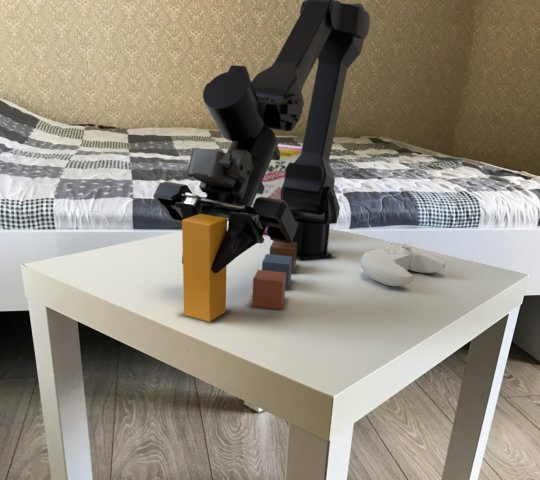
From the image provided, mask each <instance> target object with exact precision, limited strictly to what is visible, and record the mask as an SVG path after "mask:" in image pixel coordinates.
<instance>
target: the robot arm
mask: <svg viewBox="0 0 540 480" xmlns="http://www.w3.org/2000/svg"><path fill="white" fill-rule="evenodd" d="M370 21H371V18H370V14H369V12H368V11H366V10H365V7H364V6H363V4H362V3H344V2H341V1H339V0H303V1H302V3H301V6H300V11H299V16H298V18H297V19H296V22H295V24H294V25H293V27H292V29H291V31H290V32H289V35H288V37H287V38H286V40H285V42H284V43H283V46H282V47H281V49H280V51H279V53H278V54H277V56H276V58H275V60H274V62H273V63H272V64H271V66H269V67H267V68H265V69H264V70H262V71H261V72H259V73H257V74H256V75H255V77H253V79H252V81H251V78H250V73H249V71H248V69H247V66H246V65H232V64H231V65H230V66H229V69H228V71H226V72H222V73H220V74H218V75H216V76H215V77H214V78H213V79H211V81H210V82H208V83H206V85H205V86H204V89H203V90H202V91H203V92H202V99H203V102H204V104H205V106H206V108H207V110H208V111H209V113H210V115H211V117H212V119H213V121H214V123H215V125H216V127H217V129H218V130H219V132H220V134H221V136H222V137H223V138H224V139H226V140H227V141H230V144H229V147H228V149H227V151H226V152H224V151H221V150H220V151H219V150H213V149H206V148H199V147H193V148H192V149H191V154H190V159H189V163H188V168H187V171H186V175H187V176H188V177H189V178H194V179H196V180H197V181H199V182H200V183H199V185H198V188H199V190H201V192H202V193H204V194H206V196H205V197H204V198H202V197H201V196H200V195H198V194H196V193H193V191H192V190H191V188H190V187H189V185H188V184H184V183H178V182H171V181H163V182H160V183H159V184H158V186H157V187H156V189H155V192H154V193H153V195H152V197H153V199H154V200H155V202H156V203H157V204H158V205H159V207H160V208H161V209H162V211H164V213H165V214H166V216H167V217H168V218H169V219H170V220H171V221H173V222H176V223H179V224H182V220H183V219H186V218H189V217H192V216H195V215H198V214H205V215H210V216H216V217H221V218H227V220H228V223H227V232H226V234H225V236H224V239H223V241H222V243H221V245H220V247H219V249H218V252H217V254H216V256H215V258H214V261H213V264H212V268H211V270H212V272H213V273H215V274H217V273H218V272H219V271H221V270H222V269H223V268H224V267H225V266H226V267H227V266H228V265H229V264H231V263H232V262H233V261H234V260H235V259H236V258H238V257H240V255H241V254H243V253H245V252H246V251H248V250H249V249H251V248H252V247H253V246H255V245H256V244H261V245H262V244H264V242H265V238H264V235H265V234H264V232H265V229H266V228H268V230H267V233H268V234H267V235H268V237H269V239H270V241H279V242H284V243H291V242H297V243H298V245H297V259H298V260H310V259H319V258H331V257H332V253H331V252H329V251H328V248H329V237H330V228H331V227H330V226H331V225H332V224H334V225H335V224H337V223H338V220H339V216H340V211H341V207H340V204H339V200H338V197H337V194H336V191H335V182H336V179H335V176H334V173H333V170H332V167H331V164H330V157H331V153H332V148H333V143H334V137H335V133H336V128H337V123H338V117H339V113H340V108H341V103H342V98H343V93H344V87H345V83H346V78H347V74H348V69H349V68H350V67H351V66H352V64H353V63H354V62H355V61H356V59H357V58H359V56H360V54H361V53H362V50H363V47H364V44H365V43H364V42H365V39H366V38H367V37H368V35H369V31H370V25H371V24H370V23H371V22H370ZM316 61H317V66H316V71H315V77H314V82H313V87H312V92H311V93H312V94H311V98H310V104H309V107H308V114H307V120H306V125H305V129H304V130H305V131H304V136H303V141H302V146H301V147H302V150H301V154H300V156H299V157H298V158H297V160H296V161H295V162H294V163H291V162H290V163H289V164H288V166H287V167H286V174H285V180H284V183H283V186H282V189H281V200H278V199H272V198H265V197H259V198H256V200H255V202H254V204H253V207H251V205H252V203H253V201H254V199H255V196H256V194H262V193H263V191H264V189H265V187H264V185H263V183H262V180H263V178H264V176H265V173H266V171H267V169H268V167H269V164H270V162H271V160H277V161H278V160H280V150H279V148H278V144H279V142H278V139H277V136H276V133H275V132H274V131H280V132H291V131H293V130H294V129H295V127H296V126H297V124H298V123H299V121H300V120H301V117H302V115H303V108H304V105H305V101H304V97H303V96H304V95H303V88H304V86H305V83H306V81H307V79H308V77H309V75H310V73H311V71H312V69H313V67H314V66H315V63H316ZM268 226H269V227H268ZM181 254H182V255H181V265H183V252H182V253H181Z"/></svg>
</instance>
